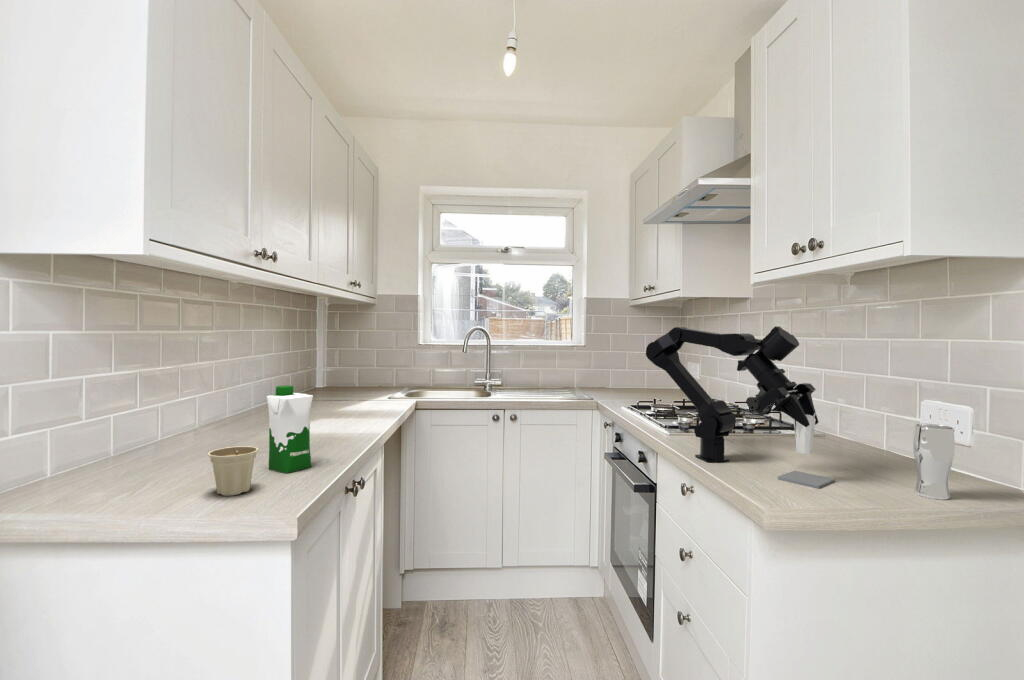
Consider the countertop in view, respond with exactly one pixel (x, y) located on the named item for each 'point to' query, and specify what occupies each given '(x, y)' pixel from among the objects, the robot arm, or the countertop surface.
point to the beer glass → (933, 459)
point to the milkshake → (804, 435)
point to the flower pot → (233, 469)
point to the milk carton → (289, 430)
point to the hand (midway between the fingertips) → (812, 424)
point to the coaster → (806, 479)
